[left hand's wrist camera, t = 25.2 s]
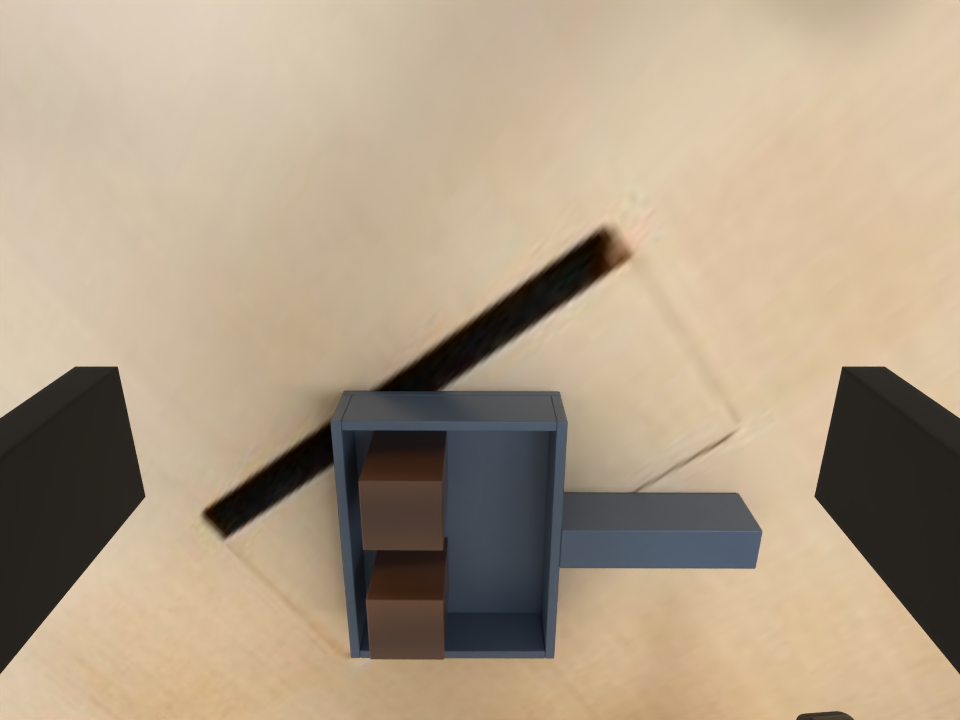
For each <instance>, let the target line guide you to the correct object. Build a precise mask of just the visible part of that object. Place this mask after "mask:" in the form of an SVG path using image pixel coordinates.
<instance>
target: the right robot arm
mask: <svg viewBox="0 0 960 720" xmlns="http://www.w3.org/2000/svg"><path fill="white" fill-rule="evenodd" d="M796 720H854V719H853V718H852V717H851V716H849V715H848V714H846V713H843V712H838V711H834V712H821V713H808V714H801V715H799V716H798V717H797V719H796Z"/></svg>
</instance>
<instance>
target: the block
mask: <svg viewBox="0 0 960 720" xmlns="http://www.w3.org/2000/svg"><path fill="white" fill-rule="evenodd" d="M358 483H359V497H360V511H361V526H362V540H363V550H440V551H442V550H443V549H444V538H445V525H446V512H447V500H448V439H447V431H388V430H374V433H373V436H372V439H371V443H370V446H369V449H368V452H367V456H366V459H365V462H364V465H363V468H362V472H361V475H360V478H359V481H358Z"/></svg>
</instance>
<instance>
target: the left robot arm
mask: <svg viewBox="0 0 960 720" xmlns="http://www.w3.org/2000/svg"><path fill="white" fill-rule="evenodd" d="M144 498H145V492H144V488H143V483H142V478H141V474H140V469H139V464H138V460H137V455H136V450H135V446H134V441H133V436H132V432H131V427H130V422H129V418H128V413H127V408H126V404H125V399H124V394H123V389H122V385H121V380H120V375H119V371H118V367H74V368H73V369H71V370H70V371H68V372H67V373H65V374H64V375H63V376H61V377H60V378H58V379H57V380H55V381H54V382H52V383H51V384H49V385H48V386H47V387H45V388H44V389H42V390H41V391H39V392H38V393H36V394H35V395H33V396H32V397H31V398H29V399H28V400H26V401H25V402H23V403H22V404H20V405H19V406H18V407H16V408H15V409H13V410H12V411H10V412H9V413H7V414H6V415H4V416H3V417H2V418H0V674H1V673H2V671H3V670H4V669H5V668H6V666H7V665H8V664H9V663H10V662H11V660H12V659H13V658H14V657H15V655H16V654H17V653H18V652H19V651H20V649H21V648H22V647H23V646H24V644H25V643H26V642H27V641H28V640H29V638H30V637H31V636H32V635H33V633H34V632H35V631H36V630H37V629H38V627H39V626H40V625H41V624H42V622H43V621H44V620H45V619H46V618H47V616H48V615H49V614H50V613H51V611H52V610H53V609H54V608H55V607H56V605H57V604H58V603H59V602H60V600H61V599H62V598H63V597H64V596H65V594H66V593H67V592H68V591H69V589H70V588H71V587H72V586H73V585H74V583H75V582H76V581H77V580H78V578H79V577H80V576H81V575H82V574H83V572H84V571H85V570H86V569H87V567H88V566H89V565H90V564H91V563H92V561H93V560H94V559H95V558H96V556H97V555H98V554H99V553H100V552H101V550H102V549H103V548H104V547H105V545H106V544H107V543H108V542H109V541H110V539H111V538H112V537H113V536H114V534H115V533H116V532H117V531H118V530H119V528H120V527H121V526H122V525H123V523H124V522H125V521H126V520H127V519H128V517H129V516H130V515H131V514H132V512H133V511H134V510H135V509H136V508H137V506H138V505H139V504H140V503H141V501H142V500H143V499H144ZM815 498H816V499H817V500H818V501H819V503H820V504H821V505H822V506H823V508H824V509H825V510H826V511H827V512H828V514H829V515H830V516H831V517H832V519H833V520H834V521H835V522H836V523H837V525H838V526H839V527H840V528H841V530H842V531H843V532H844V533H845V534H846V536H847V537H848V538H849V539H850V541H851V542H852V543H853V544H854V545H855V547H856V548H857V549H858V550H859V552H860V553H861V554H862V555H863V556H864V558H865V559H866V560H867V561H868V563H869V564H870V565H871V566H872V567H873V569H874V570H875V571H876V572H877V574H878V575H879V576H880V577H881V578H882V580H883V581H884V582H885V583H886V585H887V586H888V587H889V588H890V589H891V591H892V592H893V593H894V594H895V596H896V597H897V598H898V599H899V600H900V602H901V603H902V604H903V605H904V607H905V608H906V609H907V610H908V611H909V613H910V614H911V615H912V616H913V618H914V619H915V620H916V621H917V622H918V624H919V625H920V626H921V627H922V629H923V630H924V631H925V632H926V633H927V635H928V636H929V637H930V638H931V640H932V641H933V642H934V643H935V644H936V646H937V647H938V648H939V649H940V651H941V652H942V653H943V654H944V655H945V657H946V658H947V659H948V660H949V662H950V663H951V664H952V665H953V666H954V668H955V669H956V670H957V671H958V673H959V674H960V418H958V417H957V416H956V415H954V414H953V413H951V412H950V411H948V410H947V409H945V408H944V407H942V406H941V405H940V404H938V403H937V402H935V401H934V400H932V399H931V398H929V397H928V396H927V395H925V394H924V393H922V392H921V391H919V390H918V389H916V388H915V387H913V386H912V385H911V384H909V383H908V382H906V381H905V380H903V379H902V378H900V377H899V376H897V375H896V374H895V373H893V372H892V371H890V370H889V369H887V368H886V367H842V371H841V375H840V380H839V385H838V389H837V394H836V399H835V404H834V408H833V413H832V418H831V422H830V427H829V432H828V436H827V441H826V446H825V450H824V455H823V460H822V464H821V469H820V474H819V478H818V483H817V488H816V492H815Z"/></svg>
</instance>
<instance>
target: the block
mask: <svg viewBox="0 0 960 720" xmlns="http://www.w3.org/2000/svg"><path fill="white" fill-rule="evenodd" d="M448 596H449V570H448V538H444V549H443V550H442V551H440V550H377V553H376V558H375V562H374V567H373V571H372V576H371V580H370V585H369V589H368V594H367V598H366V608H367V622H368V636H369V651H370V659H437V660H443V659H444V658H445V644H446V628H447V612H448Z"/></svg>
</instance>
